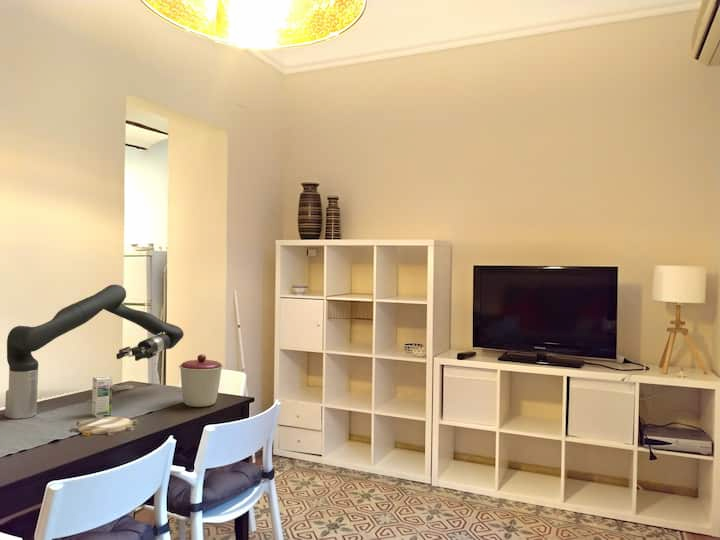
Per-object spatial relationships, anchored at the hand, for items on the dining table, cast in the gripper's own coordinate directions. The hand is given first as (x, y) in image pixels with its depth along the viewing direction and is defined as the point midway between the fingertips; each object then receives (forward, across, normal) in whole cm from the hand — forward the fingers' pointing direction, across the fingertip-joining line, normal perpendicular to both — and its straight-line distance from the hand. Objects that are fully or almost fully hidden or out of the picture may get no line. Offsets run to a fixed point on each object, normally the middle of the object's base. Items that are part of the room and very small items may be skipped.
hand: (126, 357), depth 222 cm
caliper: (-19, -19, +24) cm, 36 cm away
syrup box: (+14, -2, +19) cm, 23 cm away
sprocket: (+26, +10, +17) cm, 33 cm away
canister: (-14, +24, +23) cm, 36 cm away
